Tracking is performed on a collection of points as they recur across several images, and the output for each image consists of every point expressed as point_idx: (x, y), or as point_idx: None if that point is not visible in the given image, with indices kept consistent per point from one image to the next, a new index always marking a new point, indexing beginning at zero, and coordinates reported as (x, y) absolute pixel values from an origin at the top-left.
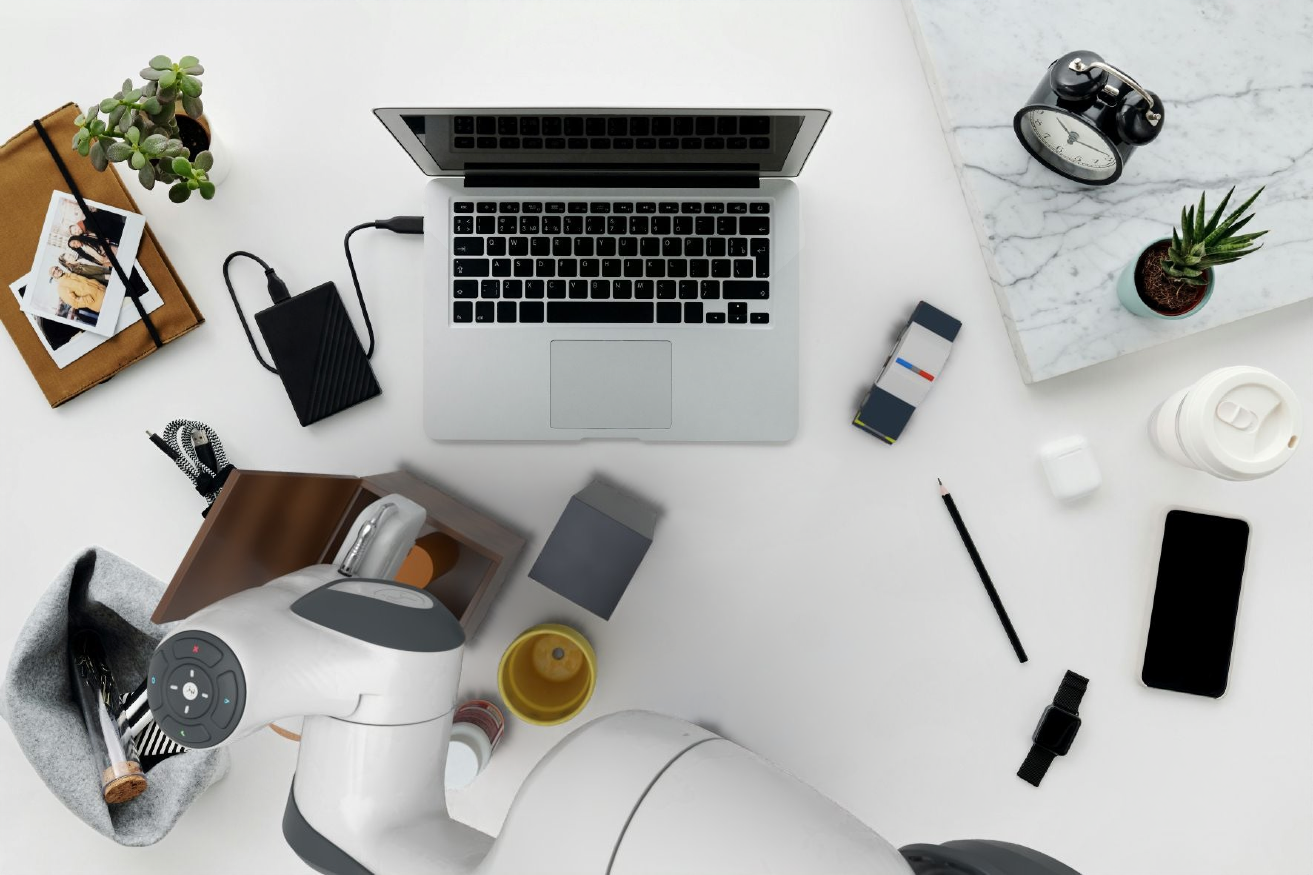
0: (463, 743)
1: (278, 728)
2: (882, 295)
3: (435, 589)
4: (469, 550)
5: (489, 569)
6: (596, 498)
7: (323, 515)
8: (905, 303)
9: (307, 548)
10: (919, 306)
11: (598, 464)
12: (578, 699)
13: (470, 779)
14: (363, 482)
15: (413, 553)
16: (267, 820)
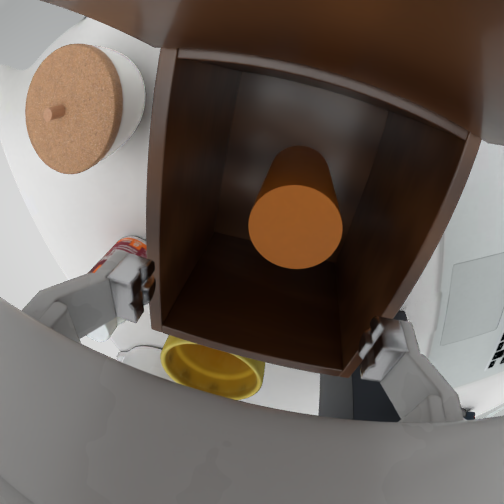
0: (107, 330)
1: (28, 106)
2: (481, 398)
3: (251, 183)
4: None
5: (329, 370)
6: None
7: (446, 89)
8: (474, 405)
9: (313, 43)
10: (473, 416)
11: (417, 309)
12: (202, 373)
13: (88, 335)
14: (476, 142)
15: (326, 232)
16: (11, 114)
